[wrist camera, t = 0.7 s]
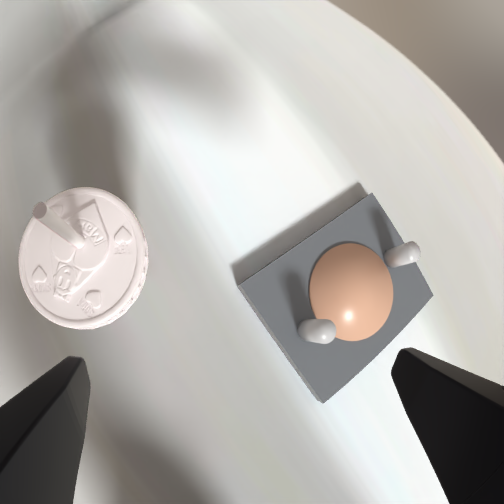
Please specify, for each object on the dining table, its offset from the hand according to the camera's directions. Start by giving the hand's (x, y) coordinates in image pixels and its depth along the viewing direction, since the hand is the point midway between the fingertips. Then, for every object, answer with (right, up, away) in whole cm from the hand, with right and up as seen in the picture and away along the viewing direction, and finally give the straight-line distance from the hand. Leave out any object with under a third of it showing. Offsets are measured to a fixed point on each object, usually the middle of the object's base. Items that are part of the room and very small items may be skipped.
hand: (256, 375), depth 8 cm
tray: (+7, 0, +17) cm, 18 cm away
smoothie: (-10, +1, +14) cm, 17 cm away
